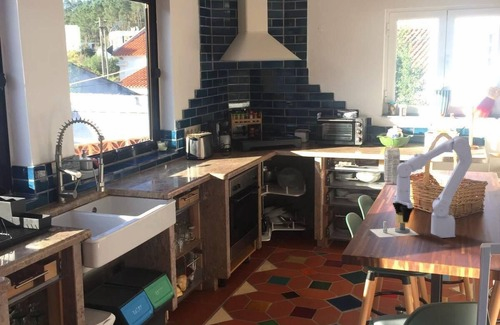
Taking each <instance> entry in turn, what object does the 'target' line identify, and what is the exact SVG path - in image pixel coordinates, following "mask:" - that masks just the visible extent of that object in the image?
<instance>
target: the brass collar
mask: <svg viewBox="0 0 500 325" xmlns="http://www.w3.org/2000/svg"><path fill="white" fill-rule="evenodd" d="M410 219H411V218H409V221H408V222H403V216H402V212H399V213H396V212H395V222H396V223H398V224H400V223H405V224H408V223H410Z"/></svg>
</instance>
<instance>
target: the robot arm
mask: <svg viewBox="0 0 500 325" xmlns="http://www.w3.org/2000/svg"><path fill="white" fill-rule="evenodd" d="M453 151H454V152H455V154H456V156H457V158H458V162H457V163H456V166H454V169H453V171H452V172H451V175H450V177H449V178H448V180H447V182H446V184H445V186H444V187H443V189H442V191H441V193H440V194H439V195H438V197H437V198H435V199H434V200H433V202H432V203H431V206H432V210H433V212H432V213H431V216H430V217H431V222H430V234H432V235H434V236H437V237H439V238H441V239H443V238H455V237H456V219H455V217H454V215H451V214H449V213H450V206H451V205H452V200H453V198H454V196H455V194H456V192H457V190H458V189H459V187H460V185H461V183H462V181H463V179H464V178H465V176H466V174H467V172H468V170H469V169H470V166H471V164H472V163H473V158H472V147H471V145H470V144H469V141H468V140H467V139H466V138H464V136H461V135H457V136H455V137H453V138H450V139H448V140H445V141H444V142H442V143H441V144H438V145H437V146H435V147H434V148H432V149H431V150H429V151H427V152H426V153H415V154H414V156H412V157H411V158H409V159H405V160H404V162H400V164H399V165H398V167H397V173H398V175H397V178H398V179H397V184H396V195H395V196H394V195H393V202H392V206H393V208H394V211H395V214H396V213H399V212H402V216H403V222H408V221H409V222H410V219H411V218H410V217H411V214H412V212H413V210H415V207H414V203H412V201H411V174H412V173H414V172H416V171H418V170H420V169H421V168H423V167H426V166H427V164H428V161H430V160H432V159H434V158H436V157H438V156H441V154H444V153H453ZM409 218H410V219H409Z"/></svg>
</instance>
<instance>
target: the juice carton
mask: <svg viewBox="0 0 500 325" xmlns="http://www.w3.org/2000/svg"><path fill="white" fill-rule="evenodd" d="M383 155H384V157H383V180H384V183H385V185H397V179H398V178H397V175H398V173H397V167H398V165H399V164H400V163H401V151H400V148H399V147H398V146H395V144H394V145H391V144H390V145H389V146H385V147H384V153H383Z"/></svg>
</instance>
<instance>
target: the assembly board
mask: <svg viewBox="0 0 500 325" xmlns="http://www.w3.org/2000/svg"><path fill="white" fill-rule="evenodd" d="M382 225H383V226H382V227H383V228H371V229H369V231H371V232H372V233H373V234H374V235H376V237H378V238H389V237H391V238H392V237H405V236H406V237H407V236H419V235H420V234H419V233H417V232H416V231H414V229H413V230H412V229H411V228H409V226H406V223H399V227H389V228H388V220H387V221H386V220H384V221H383V223H382Z"/></svg>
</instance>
